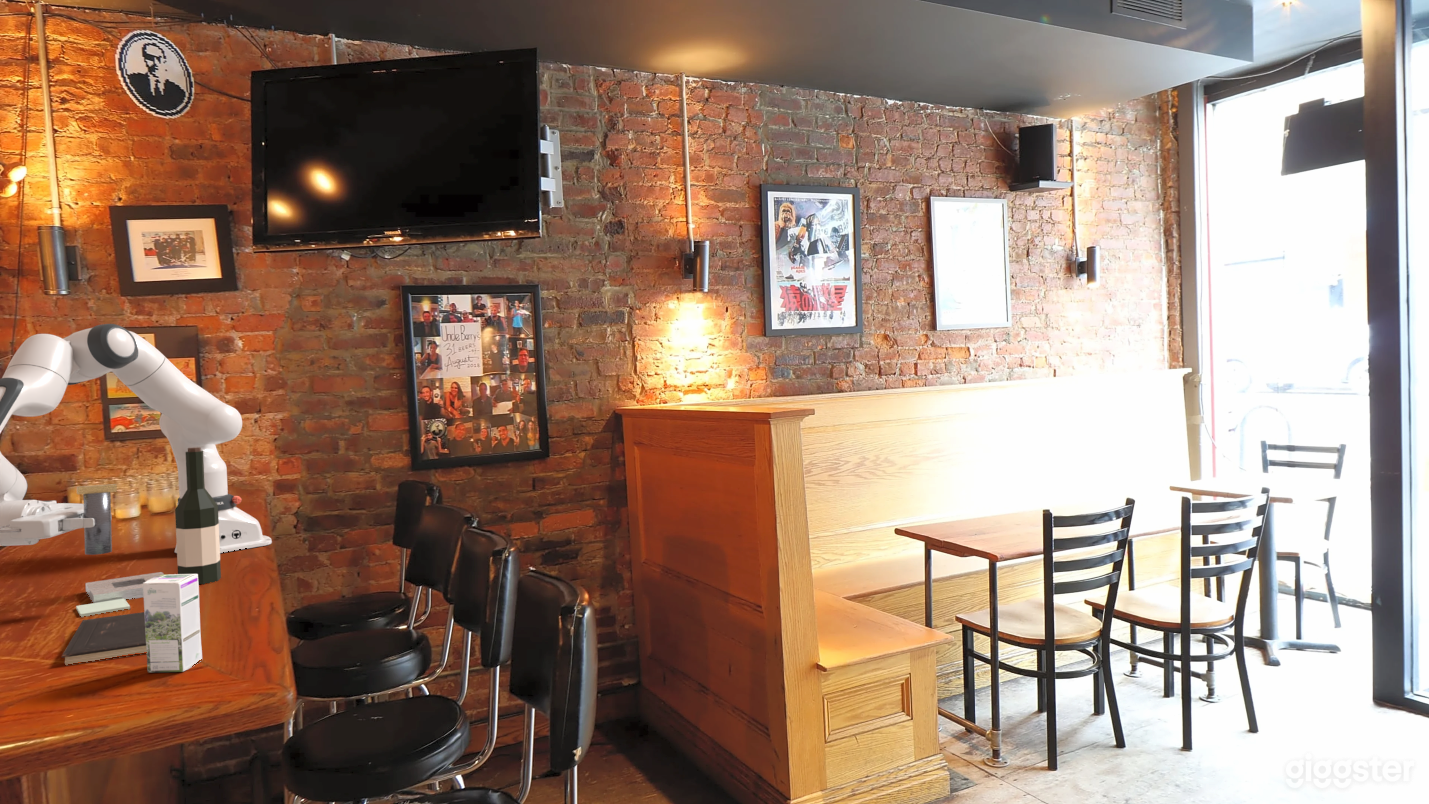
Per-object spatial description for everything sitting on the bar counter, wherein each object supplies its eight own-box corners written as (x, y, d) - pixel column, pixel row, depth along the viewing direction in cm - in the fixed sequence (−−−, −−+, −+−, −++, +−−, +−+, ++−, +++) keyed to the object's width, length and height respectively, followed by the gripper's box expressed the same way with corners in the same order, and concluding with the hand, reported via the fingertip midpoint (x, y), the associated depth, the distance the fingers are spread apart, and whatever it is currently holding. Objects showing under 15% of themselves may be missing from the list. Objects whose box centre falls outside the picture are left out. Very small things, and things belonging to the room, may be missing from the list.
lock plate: (162, 580, 196) (161, 571, 196) (174, 592, 186) (173, 582, 186) (85, 592, 187) (85, 582, 187) (94, 605, 177) (93, 595, 177)
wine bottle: (229, 576, 199) (224, 445, 198) (204, 585, 191) (198, 449, 190) (195, 576, 200) (189, 446, 199) (169, 585, 192) (163, 449, 190)
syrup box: (203, 660, 142) (200, 571, 141) (182, 673, 136) (178, 581, 135) (168, 661, 141) (164, 572, 141) (145, 674, 136) (141, 581, 135)
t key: (116, 548, 178) (114, 483, 177) (119, 551, 174) (117, 485, 174) (77, 552, 174) (75, 485, 173) (79, 556, 170) (78, 488, 170)
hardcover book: (62, 669, 140) (61, 655, 140) (83, 632, 160) (82, 620, 160) (178, 652, 148) (178, 638, 148) (184, 618, 168) (184, 606, 168)
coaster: (124, 601, 179) (124, 598, 179) (130, 609, 173) (130, 606, 173) (76, 608, 174) (76, 605, 174) (80, 617, 168) (80, 614, 168)
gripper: (-10, 514, 161) (74, 512, 164) (52, 499, 181) (126, 497, 184) (-9, 548, 161) (75, 545, 164) (53, 529, 181) (127, 526, 184)
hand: (102, 519), depth 174 cm, fingers closed on t key, 4 cm apart
